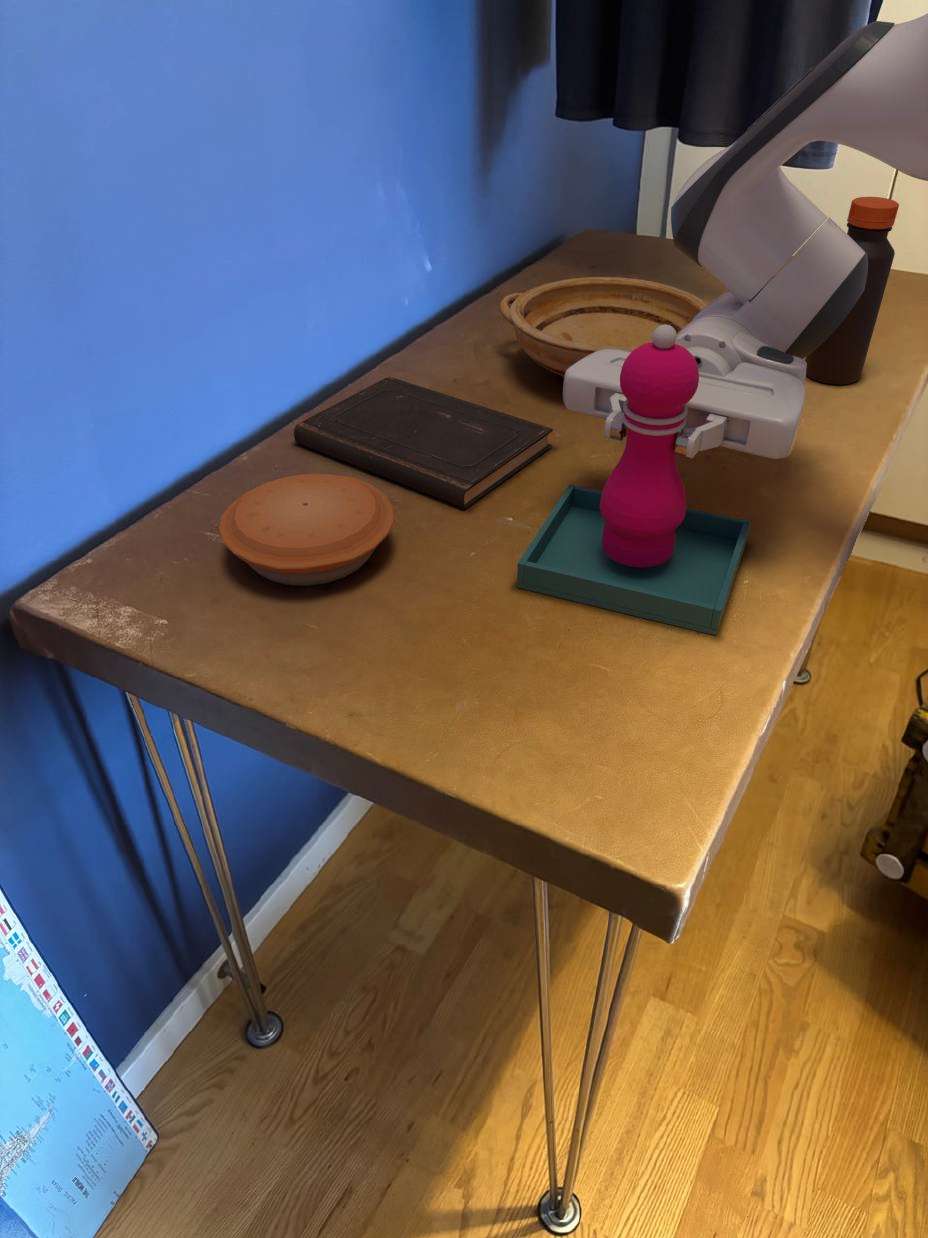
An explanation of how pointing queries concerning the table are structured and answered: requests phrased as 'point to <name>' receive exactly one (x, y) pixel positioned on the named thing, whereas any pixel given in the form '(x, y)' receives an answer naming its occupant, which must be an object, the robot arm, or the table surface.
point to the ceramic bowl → (594, 317)
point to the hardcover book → (425, 439)
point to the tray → (663, 593)
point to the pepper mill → (649, 453)
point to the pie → (307, 527)
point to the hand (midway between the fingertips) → (648, 439)
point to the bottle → (852, 338)
